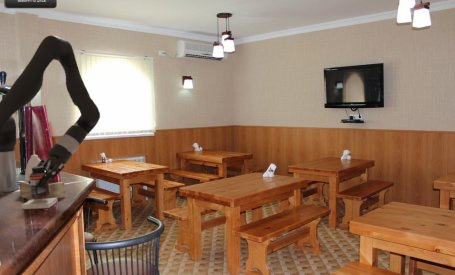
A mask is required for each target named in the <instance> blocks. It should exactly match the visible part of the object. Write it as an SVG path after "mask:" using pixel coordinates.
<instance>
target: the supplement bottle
mask: <svg viewBox="0 0 455 275" xmlns="http://www.w3.org/2000/svg"><path fill="white" fill-rule="evenodd" d="M32 171H33V172H32V173H31V174H30V187H31V197H32V199H43V198H47V197H49V184H50V183H49V180H48V181H47V183H46V184H45V185H44V186H43V188H40V187H38V186H37V183H38V182H39V181H40V179H41V178H42V177H43V176H44V174H45V171H44V166H37V167H32Z"/></svg>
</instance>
